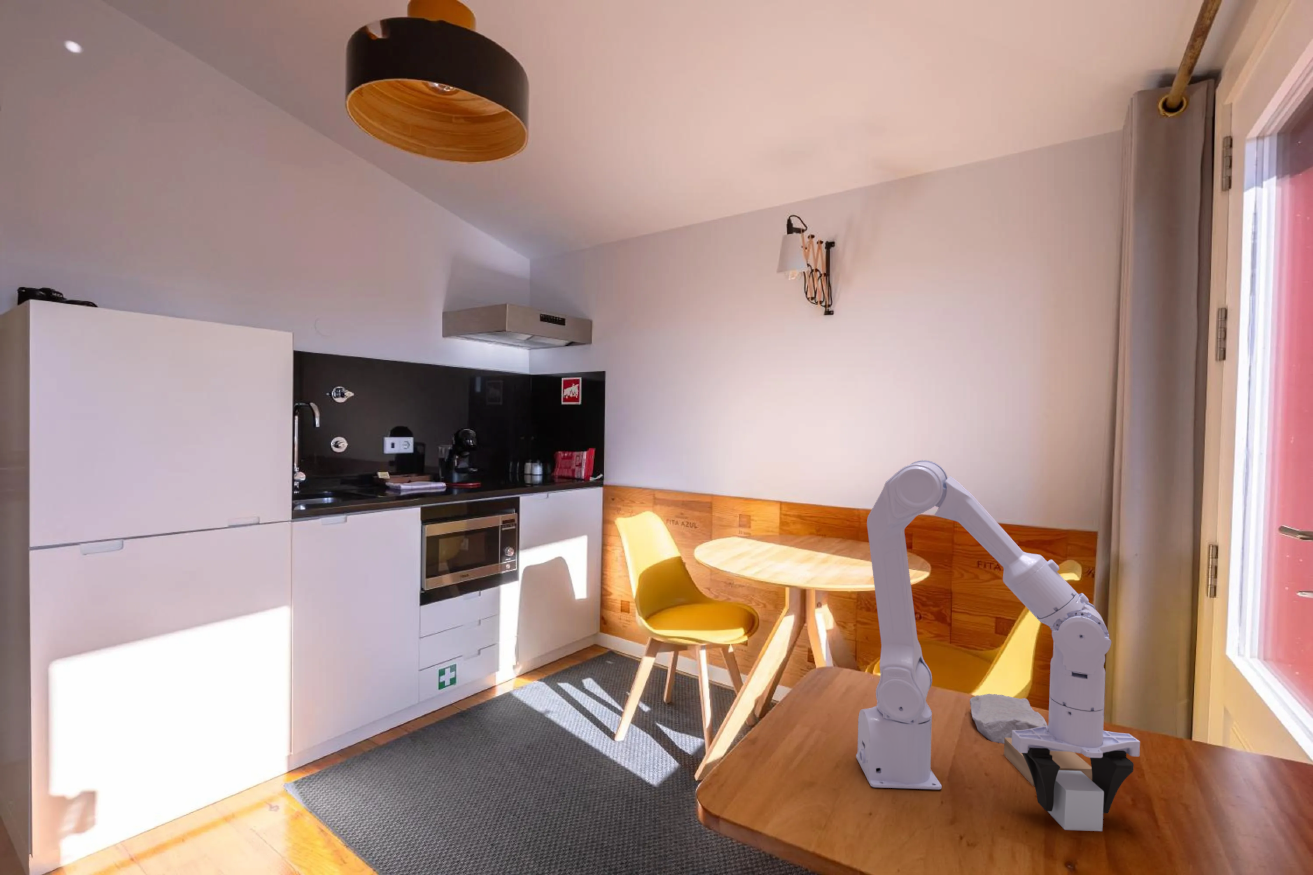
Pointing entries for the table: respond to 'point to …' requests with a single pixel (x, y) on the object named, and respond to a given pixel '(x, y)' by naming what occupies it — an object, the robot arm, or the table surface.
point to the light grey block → (1077, 802)
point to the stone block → (1003, 716)
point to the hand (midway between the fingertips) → (1072, 807)
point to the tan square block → (1062, 758)
